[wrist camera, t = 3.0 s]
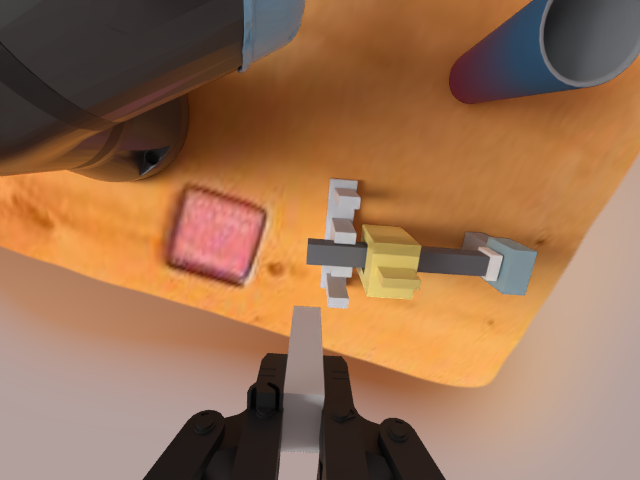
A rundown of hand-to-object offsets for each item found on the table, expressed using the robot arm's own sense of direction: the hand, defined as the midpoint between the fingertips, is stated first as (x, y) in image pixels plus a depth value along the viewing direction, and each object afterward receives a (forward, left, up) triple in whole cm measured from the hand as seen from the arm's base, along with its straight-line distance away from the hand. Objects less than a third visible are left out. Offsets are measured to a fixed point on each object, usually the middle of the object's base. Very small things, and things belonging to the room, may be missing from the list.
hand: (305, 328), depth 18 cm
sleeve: (+7, 0, -16) cm, 17 cm away
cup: (+16, +18, -21) cm, 32 cm away
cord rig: (+11, 0, -20) cm, 23 cm away
